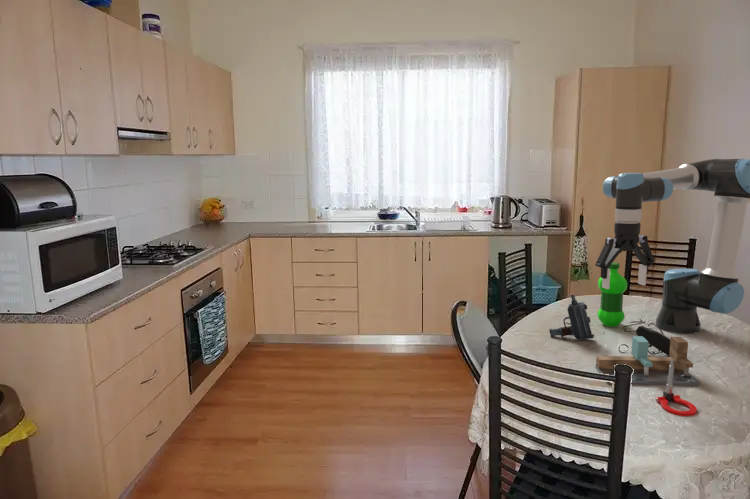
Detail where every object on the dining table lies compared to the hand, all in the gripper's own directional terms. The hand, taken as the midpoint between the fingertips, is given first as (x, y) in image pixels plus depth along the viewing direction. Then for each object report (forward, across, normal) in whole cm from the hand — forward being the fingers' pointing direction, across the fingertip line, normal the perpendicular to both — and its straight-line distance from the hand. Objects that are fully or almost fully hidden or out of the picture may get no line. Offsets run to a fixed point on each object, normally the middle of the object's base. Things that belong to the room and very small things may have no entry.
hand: (623, 286), depth 171 cm
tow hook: (+26, +8, +33) cm, 42 cm away
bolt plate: (+25, +2, +14) cm, 29 cm away
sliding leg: (+24, +2, +12) cm, 27 cm away
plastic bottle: (+25, -20, -31) cm, 44 cm away
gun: (+25, +4, -22) cm, 34 cm away
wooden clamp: (+24, +1, +13) cm, 27 cm away
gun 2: (+25, -15, +1) cm, 29 cm away
